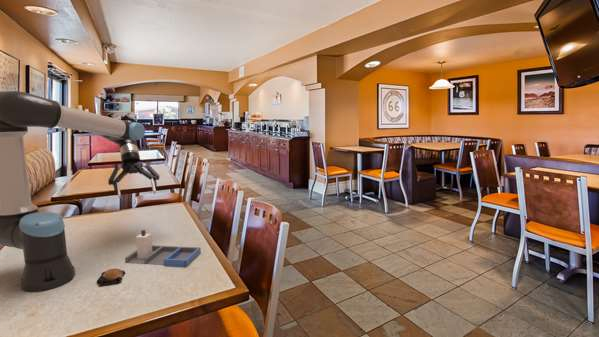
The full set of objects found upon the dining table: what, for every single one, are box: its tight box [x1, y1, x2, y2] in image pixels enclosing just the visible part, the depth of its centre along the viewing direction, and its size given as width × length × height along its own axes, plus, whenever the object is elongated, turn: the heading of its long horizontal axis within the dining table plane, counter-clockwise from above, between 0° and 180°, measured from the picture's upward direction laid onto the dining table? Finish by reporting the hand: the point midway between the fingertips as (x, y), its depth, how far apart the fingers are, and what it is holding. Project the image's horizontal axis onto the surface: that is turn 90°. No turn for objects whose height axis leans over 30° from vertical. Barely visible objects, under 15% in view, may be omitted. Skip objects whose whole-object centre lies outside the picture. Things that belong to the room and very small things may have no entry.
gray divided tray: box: [124, 244, 202, 268], centre depth 132 cm, size 14×25×3 cm, turn 83°
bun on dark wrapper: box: [96, 267, 126, 288], centre depth 116 cm, size 11×8×4 cm
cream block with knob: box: [135, 229, 153, 259], centre depth 133 cm, size 4×4×11 cm
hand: (137, 194), depth 141 cm, fingers open, 13 cm apart
